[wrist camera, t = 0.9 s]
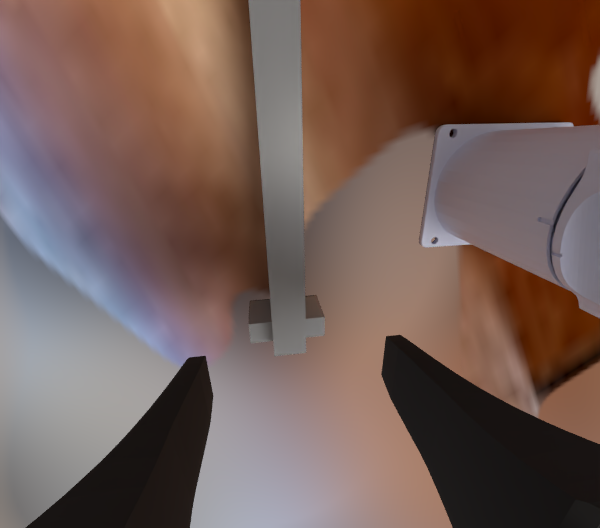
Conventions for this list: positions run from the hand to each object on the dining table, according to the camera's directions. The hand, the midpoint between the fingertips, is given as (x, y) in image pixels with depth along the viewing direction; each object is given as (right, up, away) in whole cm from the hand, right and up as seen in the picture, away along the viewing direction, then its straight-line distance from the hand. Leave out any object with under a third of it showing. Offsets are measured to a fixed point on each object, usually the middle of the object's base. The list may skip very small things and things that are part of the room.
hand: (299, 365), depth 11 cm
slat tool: (-1, +9, +7) cm, 11 cm away
